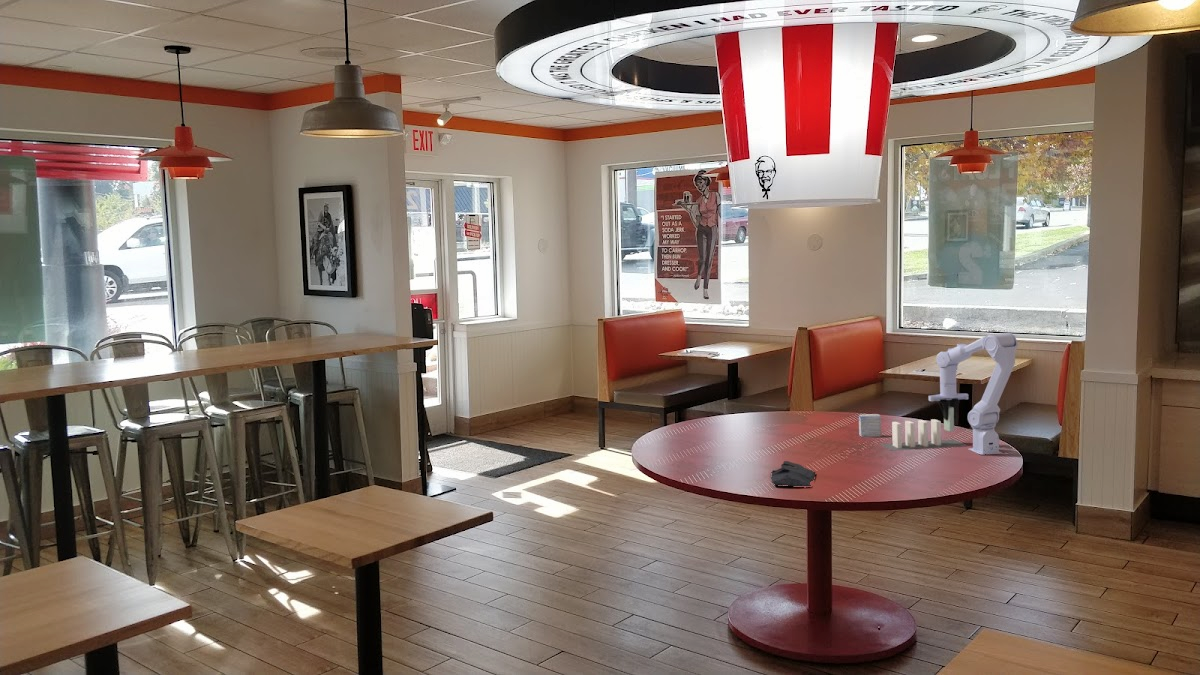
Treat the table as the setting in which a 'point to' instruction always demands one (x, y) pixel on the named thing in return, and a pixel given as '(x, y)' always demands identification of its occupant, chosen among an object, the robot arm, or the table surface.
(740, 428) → the table surface
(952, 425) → the domino
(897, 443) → the domino
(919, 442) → the domino
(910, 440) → the domino
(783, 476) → the dark slate chunk
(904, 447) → the charcoal mat
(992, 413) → the robot arm
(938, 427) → the domino
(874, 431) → the medicine box
